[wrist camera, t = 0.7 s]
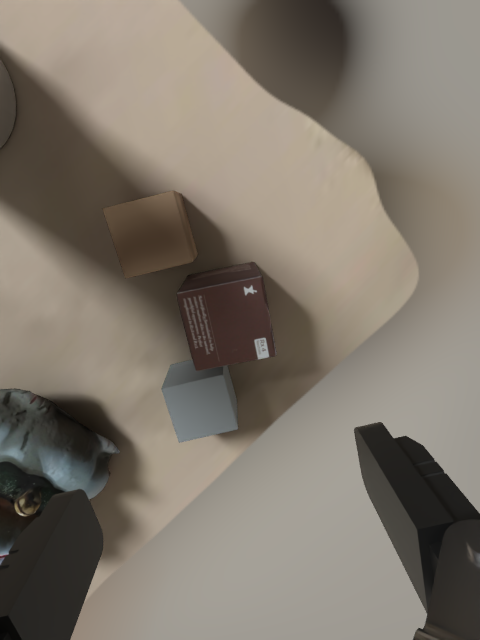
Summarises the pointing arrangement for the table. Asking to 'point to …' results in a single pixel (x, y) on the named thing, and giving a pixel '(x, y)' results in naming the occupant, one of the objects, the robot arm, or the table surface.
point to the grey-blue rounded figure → (43, 460)
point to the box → (226, 316)
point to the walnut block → (151, 233)
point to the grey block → (200, 401)
